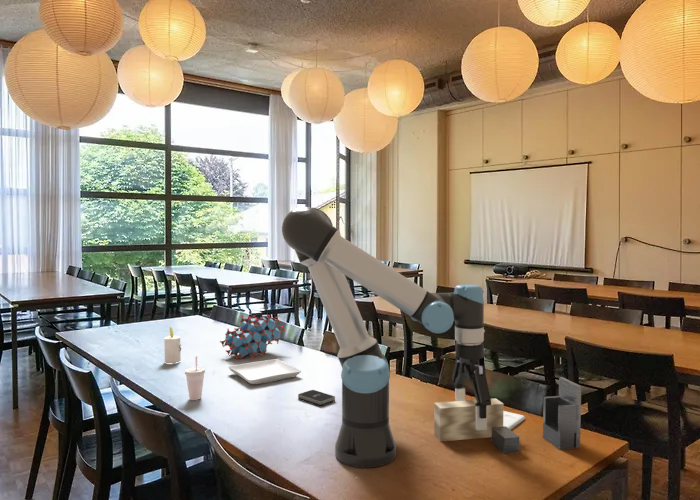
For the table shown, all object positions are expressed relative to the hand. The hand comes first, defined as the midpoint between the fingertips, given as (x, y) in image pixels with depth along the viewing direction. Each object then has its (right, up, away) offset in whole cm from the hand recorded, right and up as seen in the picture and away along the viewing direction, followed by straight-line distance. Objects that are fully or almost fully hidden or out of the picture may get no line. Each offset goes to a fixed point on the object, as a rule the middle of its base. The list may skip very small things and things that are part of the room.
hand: (470, 420), depth 140 cm
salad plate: (-65, -2, +56) cm, 86 cm away
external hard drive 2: (+12, -5, +10) cm, 16 cm away
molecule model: (-75, -1, +88) cm, 116 cm away
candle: (-106, -1, +76) cm, 131 cm away
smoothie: (-84, -3, +30) cm, 89 cm away
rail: (0, -4, 0) cm, 4 cm away
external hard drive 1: (-43, -4, +29) cm, 52 cm away
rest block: (+7, -5, -7) cm, 11 cm away
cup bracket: (+22, -4, -5) cm, 23 cm away
